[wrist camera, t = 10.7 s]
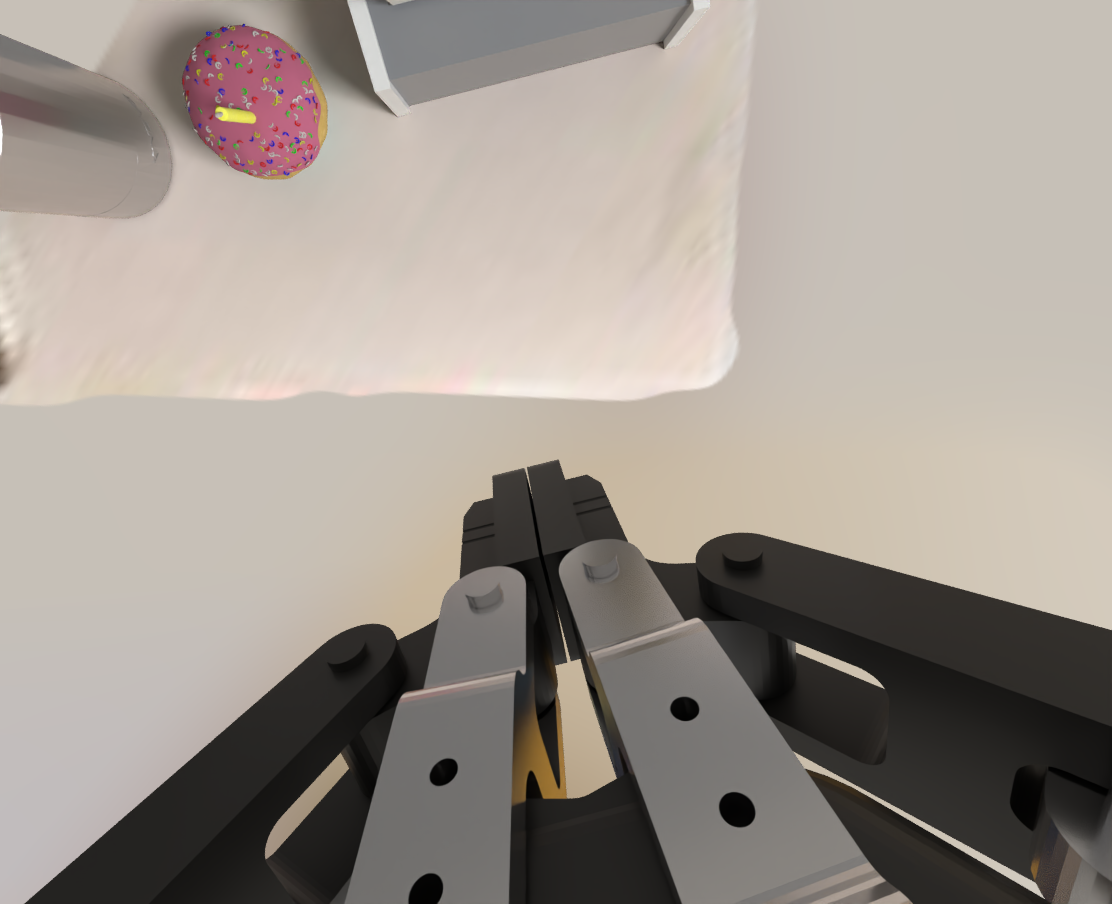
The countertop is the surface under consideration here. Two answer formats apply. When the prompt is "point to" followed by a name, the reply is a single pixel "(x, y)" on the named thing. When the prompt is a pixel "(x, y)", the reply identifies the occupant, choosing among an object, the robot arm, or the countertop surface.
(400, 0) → the rocker switch
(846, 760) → the robot arm
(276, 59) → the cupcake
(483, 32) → the switch box
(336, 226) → the countertop surface
